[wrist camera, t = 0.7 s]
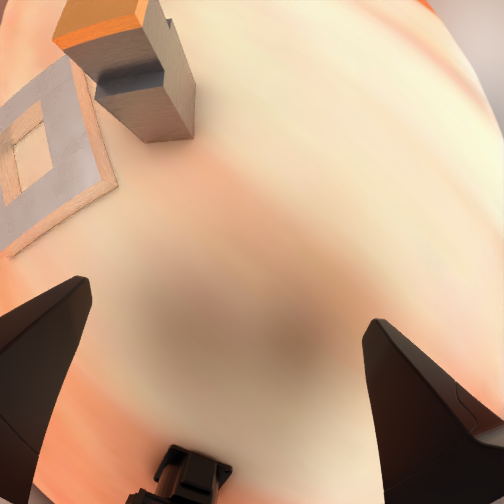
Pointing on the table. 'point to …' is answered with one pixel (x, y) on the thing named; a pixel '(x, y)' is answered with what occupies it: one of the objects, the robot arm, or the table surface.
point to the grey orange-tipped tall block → (132, 64)
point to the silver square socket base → (62, 154)
